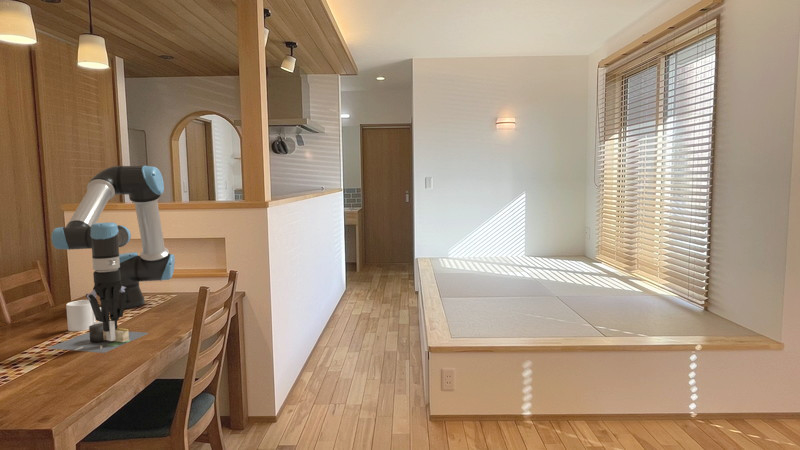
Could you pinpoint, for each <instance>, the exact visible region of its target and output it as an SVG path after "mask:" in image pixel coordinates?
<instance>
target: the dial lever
mask: <svg viewBox="0 0 800 450" xmlns="http://www.w3.org/2000/svg"><path fill="white" fill-rule="evenodd" d="M88 331H89V333H90V342H91V343H100V342H105V341H108V340H107V339H106V332H105V331H104V330H103V323H99V324H94V325H91V326H89V329H88ZM128 331H130V330H129V329H128V328H122V327H121V328H120V327H119V328H118V327H117V329H115V338H116V340H114V341H116V342H125V341H128V340H129V332H128Z"/></svg>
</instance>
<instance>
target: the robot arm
mask: <svg viewBox="0 0 800 450" xmlns="http://www.w3.org/2000/svg"><path fill="white" fill-rule="evenodd" d="M164 182H165V181H164V179H163V175H162V173H161V170H160V169H159V168H157V167H156V166H151V165H114V166H111V167H107V168H105V169H103V170H101V171H99V172H98V173H97V174H95V175H94V176H93V177H92V178H91V179H90V180H89V182H88V184H87V186H86V190H87V191H86V193H85V195H84V196H83V198H82V200H81V201H80V203H79V204H78V206H77V208H76V209H75V211H74V213H73V214H72V216H71V217H70V219H69V221H68V223H67V224H66V225H65V226H61V227H55V228H54V229H53V230H52V232H51V243H52V246H53V247H54V248H55V249H57V250H69V251H70V250H86V249H87V250H88V249H91V257H92V270H93V284H94V285H93V289H92V290H91V292H90V293H87V294H85V298H86V300H89V301H90V304H91V307H92V310H93V312H94V315H95V321H97V322H99V321H100V322H103V330H104V331H105V332H106V339H107V340H108V341H114V340H116V338H115V329H117V328H118V321H119V320H120V318H122V317H124V311H125V309H133V308H137V307H139V306H143V305H144V304H145V297H144V296H143V292H142V290H141V288H140V282H152V281H153V282H155V281H159V282H162V281H169V280H171V279H172V278H173V275H174V271H175V263H176V261H175V260H176V258H175V255H174V254H173V253H170V250H169V249H168V248H167V247H165V240H164V235H163V229H162V221H161V215H160V209H159V202H158V200H159V199H160V198H161V195H163V194H164V191H165V186H164V184H165V183H164ZM118 195H126V196H127V195H128V197H129V201H131V202H132V203H134V207H135V208H134V209H135V213H136V219H137V224H138V229H139V235H140V240H141V241H140V242H141V247H142V251H141V252H140V253H138V252H136V251H135V252H132V251H131V252H125V253H120V248H122V247H124V246H126V245H127V244H128V243H129V242H130V240H131V237H132V234H131V231H130V230H129V228H128V227H126V226H124V225H120V224H119V225H118V224H117V223H116V222H112V221H111V222H109V221H108V222H106V221H105V222H98V220H99V219H100V217H101V215H102V213H103V211H104V209H105V207H106V206H107V203H108V202H109V200H111V199H112V198H114V197H115V196H118ZM139 254H140V255H139ZM97 296H98V297H99V301H100V304H99V302H98V299H97ZM100 307H101V310H100Z"/></svg>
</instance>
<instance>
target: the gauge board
mask: <svg viewBox="0 0 800 450" xmlns="http://www.w3.org/2000/svg"><path fill="white" fill-rule="evenodd" d="M128 332H129V340H128V341H125V342H116V341H105V342H100V343H91V342H90V333H89V332H85V333H83V334H81V335H78V336H76V337H73V338H69V339H67V340H65V341H62V342H59V343H56V344H53V345H52V346H49V347H47V349H54V350H63V351H64V350H65V351H66V350H67V351H74V352H75V351H77V352H86V353H87V352H89V353H101V354H106V353H107V352H109V351H112V350H114V349H117V348H119V347H122V346H124V345H126V344H128V343H130V342H133V341H135V340H137V339H139V338H141V337H144V336H146V335H148V334H149V332H144V331H143V332H142V331H130V330H129V331H128Z"/></svg>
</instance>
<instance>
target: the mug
mask: <svg viewBox="0 0 800 450" xmlns="http://www.w3.org/2000/svg"><path fill="white" fill-rule="evenodd" d="M65 305H66V306H65V309H66V319H67V320H66V321H67V331H68V332H83V331H87V330H88V331H89V326H91V325H94V324H99V323H103V322H100V321H97V320H96V318H95V315H94V312H93V310H92V307H91V304H90V301H89V300H88V299H80V300H74V301H70V302H67V303H66V304H65ZM99 307H100V310H101V306H99Z"/></svg>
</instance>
